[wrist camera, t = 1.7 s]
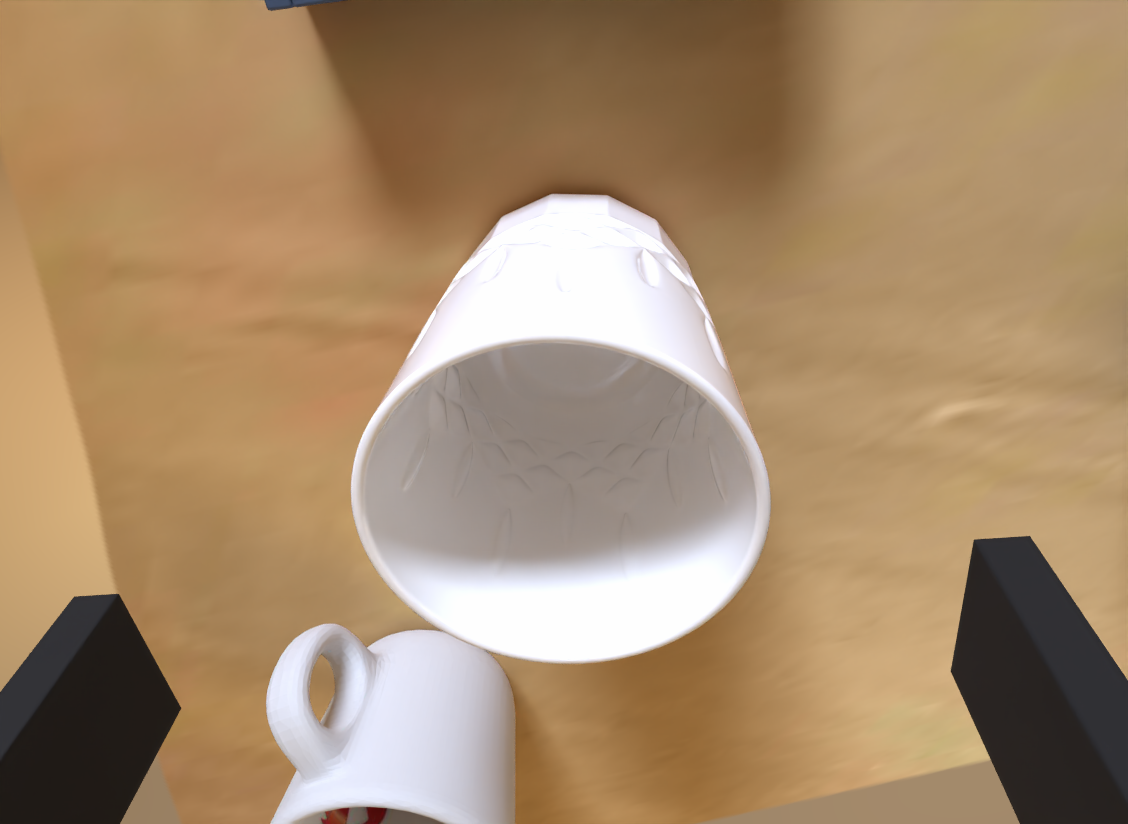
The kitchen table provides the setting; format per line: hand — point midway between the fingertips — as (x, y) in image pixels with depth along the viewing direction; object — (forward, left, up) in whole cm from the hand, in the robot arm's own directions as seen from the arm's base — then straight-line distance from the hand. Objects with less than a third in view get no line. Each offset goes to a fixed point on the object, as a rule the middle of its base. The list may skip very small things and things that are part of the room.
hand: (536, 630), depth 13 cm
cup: (+8, +14, -13) cm, 21 cm away
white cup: (0, 0, -13) cm, 13 cm away
